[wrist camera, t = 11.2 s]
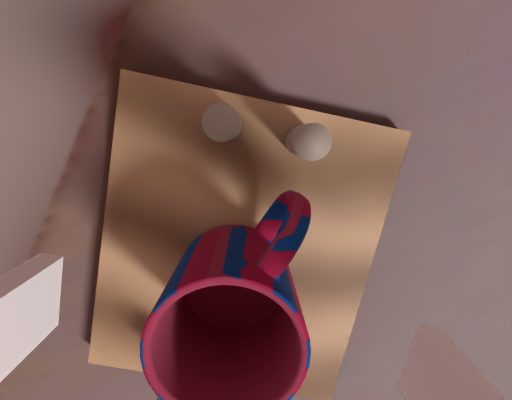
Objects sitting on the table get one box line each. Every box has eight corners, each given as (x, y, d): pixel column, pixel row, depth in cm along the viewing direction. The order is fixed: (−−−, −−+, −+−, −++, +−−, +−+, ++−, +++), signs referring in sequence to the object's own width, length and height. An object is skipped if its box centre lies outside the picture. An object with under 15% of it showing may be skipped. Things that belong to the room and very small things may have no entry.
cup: (157, 290, 19) (107, 375, 12) (252, 154, 17) (253, 166, 11) (248, 345, 20) (246, 452, 13) (346, 220, 18) (401, 271, 12)
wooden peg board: (129, 73, 17) (79, 47, 12) (401, 132, 18) (459, 131, 13) (97, 350, 21) (48, 419, 16) (325, 387, 22) (348, 464, 17)
